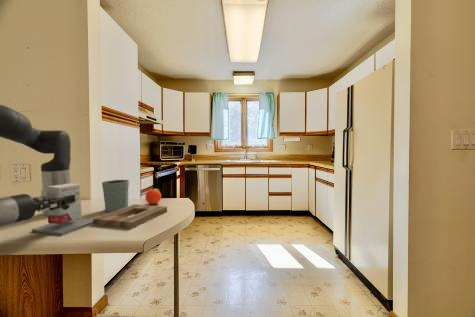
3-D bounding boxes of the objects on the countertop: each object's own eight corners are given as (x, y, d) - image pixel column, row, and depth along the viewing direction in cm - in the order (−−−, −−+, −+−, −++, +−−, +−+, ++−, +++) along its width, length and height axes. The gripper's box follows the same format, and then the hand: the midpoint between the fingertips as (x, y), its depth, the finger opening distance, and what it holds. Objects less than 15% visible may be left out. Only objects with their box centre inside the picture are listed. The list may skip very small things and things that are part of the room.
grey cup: (104, 214, 96) (102, 184, 95) (102, 208, 104) (100, 180, 103) (132, 210, 101) (130, 181, 100) (127, 205, 110) (126, 178, 109)
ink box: (59, 224, 76) (58, 187, 76) (47, 223, 77) (45, 187, 77) (82, 216, 85) (80, 183, 84) (70, 216, 86) (69, 183, 85)
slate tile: (31, 231, 77) (31, 229, 77) (70, 219, 90) (70, 217, 90) (62, 235, 73) (61, 232, 73) (98, 221, 86) (98, 219, 86)
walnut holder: (93, 224, 83) (92, 218, 83) (134, 209, 102) (133, 204, 102) (131, 228, 79) (131, 222, 78) (167, 211, 98) (166, 206, 98)
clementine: (161, 201, 116) (160, 186, 116) (165, 203, 110) (165, 188, 110) (143, 203, 112) (143, 188, 111) (147, 206, 106) (147, 190, 105)
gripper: (25, 198, 63) (83, 187, 80) (-11, 195, 68) (51, 186, 84) (27, 226, 64) (84, 210, 80) (-9, 222, 68) (53, 207, 84)
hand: (67, 197), depth 82 cm, fingers closed on ink box, 5 cm apart
